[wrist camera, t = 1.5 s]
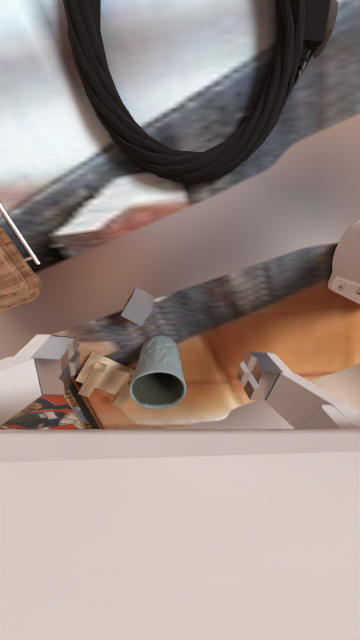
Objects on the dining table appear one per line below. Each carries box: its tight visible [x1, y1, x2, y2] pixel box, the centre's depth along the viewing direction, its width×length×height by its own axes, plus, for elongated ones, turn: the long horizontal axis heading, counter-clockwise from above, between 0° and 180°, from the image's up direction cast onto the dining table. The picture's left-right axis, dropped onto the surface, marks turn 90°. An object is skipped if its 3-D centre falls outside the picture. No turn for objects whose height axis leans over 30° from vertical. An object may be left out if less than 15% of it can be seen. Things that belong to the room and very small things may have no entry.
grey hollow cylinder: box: [129, 335, 186, 409], centre depth 39 cm, size 10×10×12 cm
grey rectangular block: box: [121, 287, 154, 326], centre depth 35 cm, size 4×4×6 cm
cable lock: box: [63, 0, 338, 184], centre depth 22 cm, size 28×4×30 cm
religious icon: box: [0, 375, 104, 430], centre depth 51 cm, size 38×35×3 cm
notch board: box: [75, 352, 135, 408], centre depth 44 cm, size 14×8×5 cm, turn 56°
